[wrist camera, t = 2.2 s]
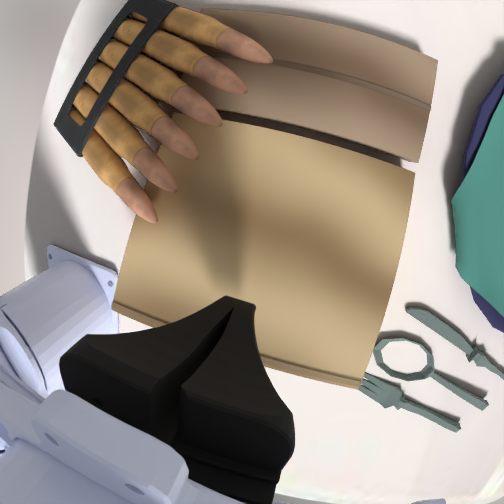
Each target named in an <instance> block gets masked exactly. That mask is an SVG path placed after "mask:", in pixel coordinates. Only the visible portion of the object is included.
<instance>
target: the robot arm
mask: <svg viewBox="0 0 504 504" xmlns="http://www.w3.org/2000/svg"><path fill="white" fill-rule="evenodd" d="M47 260H48V269H47V270H45V271H43V272H42V273H40V274H38V275H36V276H34V277H33V278H31V279H29V280H27V281H26V282H24V283H22V284H20V285H19V286H17V287H15V288H14V289H12V290H10V291H9V292H7V293H5V294H4V295H2V296H0V504H291V503H285V502H279V501H274V500H273V497H274V493H275V488H276V484H277V483H278V482H279V479H280V474H281V470H282V469H283V468H284V466H285V465H286V464H287V462H288V461H289V459H290V458H291V457H292V454H293V452H294V448H295V428H294V421H293V414H292V412H291V411H290V410H289V408H288V407H287V406H286V405H285V403H284V402H283V401H282V400H281V398H280V397H279V395H278V393H277V392H276V390H275V389H274V387H273V385H272V383H271V381H270V379H269V377H268V375H267V373H266V371H265V368H264V366H263V363H262V360H261V357H260V354H259V350H258V345H257V341H256V335H255V325H254V315H255V311H256V306H255V304H253V303H249V302H246V301H243V300H240V299H236V298H233V297H230V296H227V295H225V296H223V297H222V298H220V299H218V300H217V301H215V302H213V303H212V304H210V305H208V306H206V307H205V308H203V309H201V310H199V311H197V312H195V313H193V314H191V315H189V316H187V317H185V318H183V319H180V320H178V321H175V322H173V323H170V324H166V325H163V326H160V327H156V328H152V329H147V330H142V331H137V332H130V333H120V334H119V329H118V312H115V311H113V310H111V308H112V307H111V305H112V302H113V298H114V294H115V290H116V285H117V281H118V275H117V273H116V272H115V271H114V270H112V269H109V268H107V267H104V266H102V265H99V264H97V263H94V262H92V261H89V260H87V259H85V258H82V257H80V256H77V255H75V254H73V253H70V252H68V251H66V250H63V249H61V248H59V247H56V246H54V245H49V246H48V247H47ZM111 281H112V283H113V284H112V283H111ZM412 504H446V501H445V499H433V500H422V501H417V502H414V503H412Z"/></svg>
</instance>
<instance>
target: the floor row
mask: <svg viewBox="0 0 504 504" xmlns="http://www.w3.org/2000/svg"><path fill="white" fill-rule="evenodd" d="M200 13H201V14H204V15H207V16H210V17H212V18H214V19H216V20H218V21H219V22H220V23H222V24H224V25H226V26H228V27H230V28H232V29H234V30H235V31H238V32H240V33H242V34H244V35H246V36H248V37H249V38H251V39H253V40H254V41H256V42H257V43H258V44H260V45H261V46H262V47H263V48H264V49H265V50H266V51H267V52H268V53H269V54H270V56H271V57H272V59H273V62H272V63H257V62H252V61H248V60H245V59H241V58H239V57H236V56H233V55H231V54H229V53H226V52H224V51H222V50H218V49H216V48H213V47H211V46H205V45H200V44H197V43H195V42H193V41H191V43H192V44H194V45H195V46H197V47H198V48H199V49H200V50H201V51H202V52H204V53H206V54H207V55H209V56H211V57H212V58H213V59H215V60H217V61H219V62H220V63H222V64H224V65H225V66H226V67H228V68H229V69H231V70H232V71H233V72H234V73H235V74H236V75H237V76H238V77H239V78H240V79H241V80H242V81H243V83H244V84H245V86H246V88H247V90H248V92H247V94H235V93H231V92H227V91H224V90H221V89H219V88H216V87H214V86H211V85H209V84H207V83H205V82H203V81H202V80H200V79H198V78H195V77H193V76H191V75H189V74H187V73H184V72H183V74H182V78H181V80H182V81H183V82H185V83H186V84H187V85H189V86H190V87H191V88H192V89H194V90H195V91H196V92H198V93H199V94H200V95H202V96H203V97H204V98H205V99H206V100H207V101H208V102H209V103H210V104H211V105H212V106H213V107H214V108H215V110H218V111H224V112H230V113H235V114H241V115H246V116H252V117H257V118H262V119H266V120H271V121H276V122H280V123H284V124H289V125H293V126H297V127H301V128H305V129H309V130H313V131H316V132H320V133H324V134H327V135H331V136H334V137H338V138H341V139H345V140H348V141H351V142H354V143H357V144H361V145H364V146H367V147H370V148H373V149H376V150H379V151H381V152H384V153H387V154H390V155H393V156H395V157H398V158H401V159H404V160H406V161H409V162H415V163H418V162H419V158H420V154H421V150H422V145H423V141H424V137H425V132H426V128H427V123H428V118H429V113H430V110H431V103H432V97H433V91H434V85H435V78H436V71H437V64H438V60H436V59H434V58H432V57H430V56H427V55H425V54H423V53H420V52H418V51H415V50H413V49H410V48H408V47H405V46H403V45H400V44H397V43H395V42H392V41H389V40H386V39H383V38H380V37H377V36H374V35H371V34H368V33H364V32H361V31H357V30H354V29H350V28H346V27H343V26H339V25H335V24H330V23H326V22H321V21H317V20H312V19H306V18H301V17H295V16H289V15H282V14H275V13H267V12H257V11H246V10H231V9H201V11H200Z"/></svg>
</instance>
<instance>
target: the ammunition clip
mask: <svg viewBox="0 0 504 504" xmlns="http://www.w3.org/2000/svg"><path fill="white" fill-rule="evenodd" d="M157 28H161V29H163V30H165V31H166V32H165V31H162V30H160V29H157ZM180 36H181V37H183V38H186V39H188V40H190V41H193V42H195V43H197V44H200V45H205V46H211V47H213V48H216V49H218V50H222V51H224V52H226V53H229V54H231V55H233V56H236V57H239V58H241V59H245V60H248V61H252V62H257V63H272V62H273V59H272V57H271V56H270V54H269V53H268V52H267V51H266V50H265V49H264V48H263V47H262V46H261V45H260V44H258V43H257V42H256V41H254V40H253V39H251V38H249V37H248V36H246V35H244V34H242V33H240V32H238V31H235V30H234V29H232V28H230V27H228V26H226V25H224V24H222V23H220V22H219V21H218V20H216V19H214V18H212V17H210V16H207V15H204V14H201V13H198V12H195V11H192V10H189V9H186V8H182V7H179V6H178V5H177V4H175V3H172V2H169V1H166V0H128V2H127V3H126V4H125V5H124V7H123V8H122V9H121V11H120V12H119V13H118V15H117V16H116V17H115V19H114V20H113V21H112V23H111V24H110V25H109V27H108V28H107V30H106V31H105V33H104V34H103V36H102V37H101V39H100V40H99V42H98V43H97V45H96V46H95V48H94V49H93V51H92V52H91V54H90V56H89V57H88V59H87V61H86V62H85V64H84V66H83V67H82V69H81V71H80V73H79V74H78V76H77V78H76V80H75V82H74V83H73V85H72V87H71V89H70V91H69V93H68V95H67V97H66V99H65V101H64V103H63V105H62V107H61V109H60V111H59V113H58V115H57V118H56V120H55V122H54V126H55V127H56V129H57V130H58V131H59V133H60V134H61V135H62V136H63V138H64V139H65V140H66V142H67V143H68V144H69V145H70V147H71V148H72V149H73V151H74V152H75V153H76V154H77V156H78V157H84V158H85V159H86V161H87V162H88V163H89V165H90V166H91V167H92V169H93V170H94V171H95V173H96V174H97V175H98V177H99V178H100V179H101V180H102V181H103V182H104V183H105V184H106V185H108V186H109V187H110V188H111V189H112V190H113V191H114V192H115V193H116V194H117V195H118V196H119V197H120V198H121V199H122V200H123V202H124V203H125V204H126V205H127V206H128V207H129V208H130V209H131V210H132V211H134V212H135V213H136V214H137V215H139V216H140V217H142V218H143V219H145V220H147V221H149V222H151V223H154V224H156V223H158V217H157V213H156V210H155V208H154V206H153V204H152V202H151V200H150V199H149V197H148V195H147V194H146V192H145V191H144V190H143V188H142V187H141V186H140V185H139V183H138V182H137V181H136V179H135V178H134V177H133V175H132V174H131V173H130V172H129V170H128V167H127V165H126V164H125V162H124V161H123V159H122V158H121V157H123V158H124V159H126V160H127V161H128V162H129V163H130V164H131V165H132V166H133V167H135V168H136V169H137V170H138V171H139V172H140V173H141V174H142V175H143V176H144V177H146V178H147V179H148V180H149V181H151V182H152V183H153V184H155V185H156V186H158V187H160V188H162V189H164V190H166V191H169V192H172V193H176V192H177V185H176V182H175V180H174V178H173V176H172V174H171V172H170V171H169V169H168V168H167V166H166V165H165V163H164V162H163V161H162V160H161V158H160V157H159V156H158V155H157V154H156V153H155V152H154V151H153V150H152V148H151V147H150V146H149V145H148V144H147V143H146V142H145V141H144V139H143V137H142V136H141V134H140V132H139V131H138V130H137V129H136V128H135V127H134V126H133V125H132V124H134V125H135V126H137V127H139V128H141V129H143V130H145V131H146V132H147V133H148V134H150V135H151V136H152V137H154V138H156V139H157V140H158V141H159V142H160V143H161V144H163V145H164V146H166V147H167V148H169V149H170V150H172V151H173V152H175V153H177V154H179V155H181V156H183V157H185V158H188V159H193V160H198V159H199V153H198V150H197V148H196V146H195V145H194V143H193V141H192V140H191V138H190V137H189V136H188V134H187V133H186V132H185V131H184V130H183V129H182V128H181V127H180V126H179V125H178V124H177V123H176V122H174V121H173V120H172V119H171V117H169V116H168V115H167V114H166V113H165V112H164V111H163V110H162V109H161V107H160V106H159V104H158V103H157V102H156V101H154V100H153V99H152V98H151V97H149V96H148V95H147V94H145V93H144V92H143V91H141V90H142V89H143V90H145V91H146V92H147V93H149V94H150V95H151V96H153V97H154V98H156V99H158V100H161V101H164V102H166V103H168V104H169V105H171V106H172V107H174V108H177V109H178V110H179V111H181V112H182V113H184V114H185V115H187V116H189V117H191V118H192V119H194V120H196V121H199V122H201V123H204V124H207V125H210V126H215V127H221V126H222V125H223V122H222V119H221V117H220V115H219V114H218V112H217V111H216V110H215V108H214V107H213V106H212V105H211V104H210V103H209V102H208V101H207V100H206V99H205V98H204V97H203V96H202V95H200V94H199V93H198V92H196V91H195V90H194V89H192V88H191V87H190V86H189V85H187V84H186V83H185V82H183V81H182V80H181V79H180V78H179V77H178V76H177V75H176V74H175V73H174V72H173V71H171V70H170V69H168V68H166V67H165V66H163V65H161V64H159V63H160V62H162V63H163V64H165V65H167V66H169V67H171V68H172V69H174V70H177V71H180V72H184V73H187V74H189V75H191V76H193V77H195V78H198V79H200V80H202V81H203V82H205V83H207V84H209V85H211V86H214V87H216V88H219V89H221V90H224V91H227V92H231V93H235V94H247V92H248V90H247V88H246V86H245V84H244V83H243V81H242V80H241V79H240V78H239V77H238V76H237V75H236V74H235V73H234V72H233V71H232V70H231V69H229V68H228V67H226V66H225V65H224V64H222V63H220V62H219V61H217V60H215V59H213V58H212V57H211V56H209V55H207V54H206V53H204V52H202V51H201V50H200V49H199V48H198V47H197V46H195V45H194V44H192V43H190V42H188V41H185V40H183V39H181V38H179V37H180ZM140 51H141V52H143V53H145V54H147V55H148V56H150V57H147V56H145V55H144V54H142V53H140ZM123 76H125V77H126V78H127V79H129V80H130V81H132V83H131V82H129V81H128V80H126V79H125V78H124V77H123ZM112 105H113V106H114V107H115V108H116V109H115V108H114V107H113V106H112ZM124 117H126V118H127V119H128V120H129V121H130V122H131V123H132V124H131V123H130V122H129V121H128V120H127V119H125V118H124ZM119 155H120V156H121V157H120V156H119Z"/></svg>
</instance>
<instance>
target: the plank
mask: <svg viewBox="0 0 504 504" xmlns="http://www.w3.org/2000/svg"><path fill="white" fill-rule="evenodd" d="M171 119H172V120H173V121H174V122H176V123H177V124H178V125H179V126H180V127H181V128H182V129H183V130H184V131H185V132H186V133H187V134H188V136H189V137H190V138H191V140H192V141H193V143H194V145H195V146H196V148H197V150H198V153H199V159H198V160H193V159H188V158H185V157H183V156H181V155H179V154H177V153H175V152H173V151H172V150H170V149H169V148H167V147H166V146H164V145H163V144H161V145H160V148H159V150H158V153H157V155H158V156H159V157H160V158H161V160H162V161H163V162H164V163H165V165H166V166H167V168H168V169H169V171H170V172H171V174H172V176H173V178H174V180H175V182H176V185H177V192H176V193H172V192H169V191H166V190H164V189H162V188H160V187H158V186H156V185H155V184H153V183H152V182H151V181H149V180H147V183H146V186H145V188H144V191H145V192H146V194H147V195H148V197H149V199H150V200H151V202H152V204H153V206H154V208H155V210H156V213H157V217H158V223H156V224H154V223H151V222H149V221H147V220H145V219H143V218H142V217H140V216H139V215H137V214H136V216H135V219H134V222H133V226H132V229H131V232H130V236H129V239H128V243H127V246H126V250H125V254H124V257H123V261H122V265H121V269H120V273H119V277H118V281H117V285H116V290H115V294H114V298H113V302H112V305H111V307H112V308H111V310H113V311H115V312H118V313H120V314H122V315H124V316H127V317H129V318H131V319H134V320H136V321H138V322H141V323H143V324H146V325H148V326H151V327H153V328H156V327H160V326H163V325H166V324H170V323H173V322H175V321H178V320H180V319H183V318H185V317H187V316H189V315H191V314H193V313H195V312H197V311H199V310H201V309H203V308H205V307H206V306H208V305H210V304H212V303H213V302H215V301H217V300H218V299H220V298H222V297H223V296H225V295H227V296H230V297H233V298H236V299H240V300H243V301H246V302H249V303H253V304H255V306H256V311H255V315H254V325H255V335H256V341H257V345H258V350H259V354H260V357H261V360H262V363H263V366H265V367H269V368H272V369H276V370H279V371H283V372H286V373H290V374H294V375H298V376H302V377H305V378H309V379H313V380H318V381H322V382H326V383H330V384H335V385H339V386H344V387H348V388H353V389H358V388H359V387H360V385H361V382H362V378H363V376H364V373H365V371H366V368H367V365H368V363H369V360H370V357H371V354H372V352H373V349H374V346H375V343H376V340H377V337H378V334H379V331H380V328H381V325H382V322H383V318H384V315H385V312H386V308H387V305H388V302H389V298H390V294H391V291H392V287H393V283H394V280H395V276H396V272H397V268H398V264H399V259H400V255H401V251H402V246H403V241H404V237H405V232H406V227H407V221H408V216H409V210H410V205H411V198H412V192H413V185H414V178H415V173H414V172H412V171H409V170H406V169H404V168H401V167H398V166H396V165H393V164H390V163H387V162H385V161H382V160H379V159H376V158H373V157H370V156H367V155H364V154H361V153H358V152H355V151H351V150H348V149H345V148H342V147H338V146H335V145H331V144H328V143H324V142H321V141H317V140H313V139H310V138H306V137H302V136H298V135H294V134H290V133H286V132H282V131H277V130H273V129H268V128H264V127H259V126H254V125H249V124H244V123H239V122H234V121H228V120H222V122H223V125H222V126H221V127H215V126H210V125H207V124H204V123H201V122H199V121H196V120H194V119H192V118H191V117H189V116H187V115H185V114H183V113H175V112H174V114H173V116H172V118H171Z"/></svg>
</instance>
